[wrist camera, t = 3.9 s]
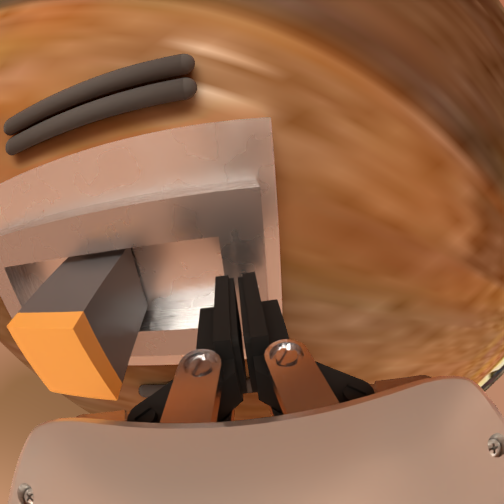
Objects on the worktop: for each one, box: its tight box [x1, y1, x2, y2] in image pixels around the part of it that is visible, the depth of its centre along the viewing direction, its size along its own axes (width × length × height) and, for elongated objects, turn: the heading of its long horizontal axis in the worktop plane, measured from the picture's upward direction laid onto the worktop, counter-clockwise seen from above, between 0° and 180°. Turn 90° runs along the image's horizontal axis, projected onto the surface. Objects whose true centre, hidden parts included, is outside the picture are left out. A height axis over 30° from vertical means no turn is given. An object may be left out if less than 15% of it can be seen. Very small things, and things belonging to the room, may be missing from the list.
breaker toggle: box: [7, 248, 148, 400], centre depth 11 cm, size 4×4×7 cm
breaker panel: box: [0, 117, 282, 365], centre depth 14 cm, size 15×20×4 cm
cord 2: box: [139, 379, 253, 397], centre depth 21 cm, size 13×1×1 cm, turn 95°
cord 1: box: [4, 54, 197, 155], centre depth 11 cm, size 13×3×1 cm, turn 95°
